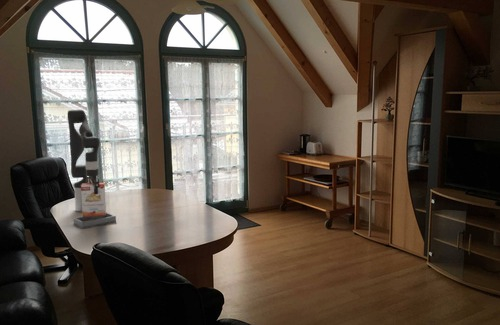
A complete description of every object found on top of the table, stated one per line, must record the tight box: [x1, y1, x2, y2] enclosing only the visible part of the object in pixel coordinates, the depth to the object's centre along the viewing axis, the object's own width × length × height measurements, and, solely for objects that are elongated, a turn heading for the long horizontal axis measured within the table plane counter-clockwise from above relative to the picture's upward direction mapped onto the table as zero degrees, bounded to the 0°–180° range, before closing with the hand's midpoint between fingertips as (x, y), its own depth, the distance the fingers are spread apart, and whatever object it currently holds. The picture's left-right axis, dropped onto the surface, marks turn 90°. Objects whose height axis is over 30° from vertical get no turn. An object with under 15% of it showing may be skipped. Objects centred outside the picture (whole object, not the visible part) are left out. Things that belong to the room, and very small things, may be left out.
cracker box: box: [81, 182, 107, 217], centre depth 268 cm, size 14×6×21 cm, turn 105°
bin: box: [72, 211, 117, 230], centre depth 270 cm, size 14×22×4 cm, turn 134°
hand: (93, 193), depth 267 cm, fingers closed on cracker box, 8 cm apart
